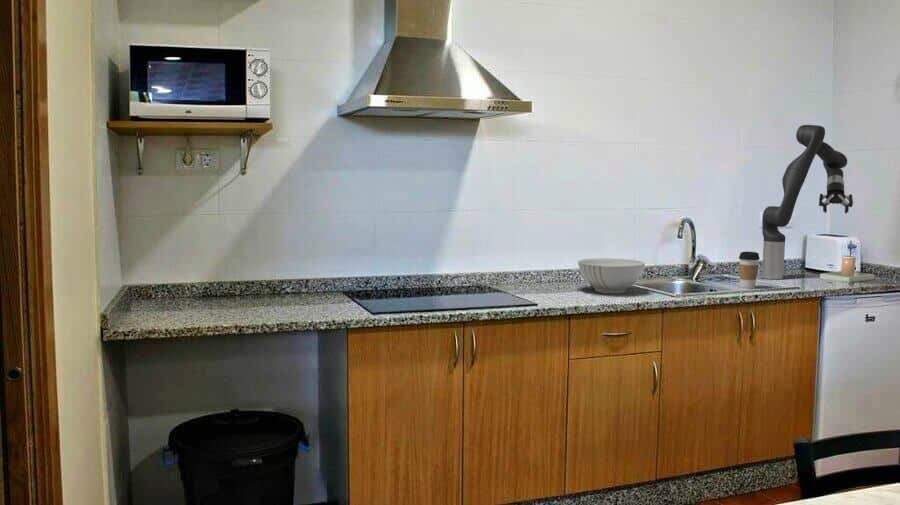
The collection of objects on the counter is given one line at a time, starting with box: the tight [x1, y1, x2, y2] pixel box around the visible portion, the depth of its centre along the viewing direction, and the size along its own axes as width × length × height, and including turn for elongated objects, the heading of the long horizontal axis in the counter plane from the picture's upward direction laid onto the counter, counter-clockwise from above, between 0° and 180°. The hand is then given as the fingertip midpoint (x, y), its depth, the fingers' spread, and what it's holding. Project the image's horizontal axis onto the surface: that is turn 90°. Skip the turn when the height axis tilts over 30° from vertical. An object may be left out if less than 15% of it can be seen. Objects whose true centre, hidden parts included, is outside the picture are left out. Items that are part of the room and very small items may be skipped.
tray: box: [819, 271, 875, 284], centre depth 358 cm, size 20×14×2 cm
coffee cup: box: [738, 251, 760, 289], centre depth 331 cm, size 8×8×15 cm
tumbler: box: [840, 255, 857, 277], centre depth 358 cm, size 6×6×10 cm
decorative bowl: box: [577, 257, 646, 294], centre depth 318 cm, size 27×27×12 cm
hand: (835, 211), depth 363 cm, fingers open, 8 cm apart
